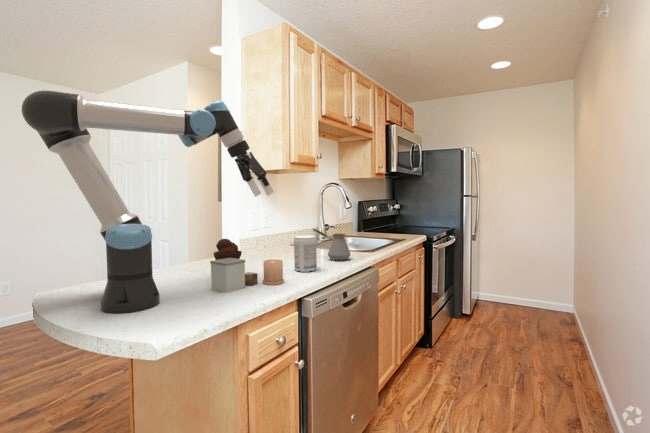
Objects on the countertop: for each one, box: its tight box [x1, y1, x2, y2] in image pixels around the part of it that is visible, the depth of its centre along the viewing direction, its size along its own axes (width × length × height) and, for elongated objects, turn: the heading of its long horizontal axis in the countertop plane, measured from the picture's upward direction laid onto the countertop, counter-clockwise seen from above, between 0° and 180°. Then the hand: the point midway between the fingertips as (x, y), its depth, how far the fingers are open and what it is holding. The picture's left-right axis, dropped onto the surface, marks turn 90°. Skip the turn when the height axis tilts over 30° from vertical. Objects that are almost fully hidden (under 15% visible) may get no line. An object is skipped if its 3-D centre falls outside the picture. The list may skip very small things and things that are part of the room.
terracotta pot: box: [262, 259, 285, 286], centre depth 132 cm, size 8×8×8 cm
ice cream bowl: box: [213, 238, 243, 260], centre depth 143 cm, size 11×11×15 cm
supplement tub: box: [293, 234, 318, 273], centre depth 153 cm, size 10×10×15 cm
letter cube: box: [245, 272, 259, 287], centre depth 129 cm, size 4×4×4 cm
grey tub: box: [209, 258, 246, 294], centre depth 123 cm, size 8×8×10 cm
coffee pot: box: [312, 228, 351, 261], centre depth 181 cm, size 21×12×15 cm, turn 61°
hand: (264, 194), depth 135 cm, fingers open, 13 cm apart
